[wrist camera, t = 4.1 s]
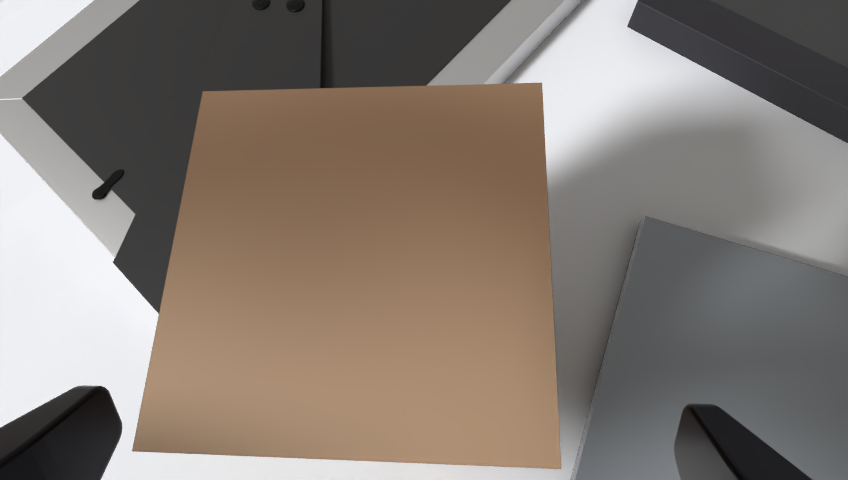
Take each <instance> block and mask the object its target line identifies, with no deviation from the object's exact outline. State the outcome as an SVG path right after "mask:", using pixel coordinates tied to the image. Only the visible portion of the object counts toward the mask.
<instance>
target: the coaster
mask: <svg viewBox="0 0 848 480" xmlns="http://www.w3.org/2000/svg"><path fill="white" fill-rule="evenodd" d="M690 403H694V404H714V405H717V406H719V407H720V408H722V409H723V410H724V411H726V412H727V413H728V414H729V415H731V416H732V417H733V418H735V419H736V420H737V421H738V422H740V423H741V424H742V425H743V426H745V427H746V428H747V429H749V430H750V431H751V432H752V433H754V434H755V435H756V436H758V437H759V438H760V439H761V440H763V441H764V442H765V443H766V444H768V445H769V446H770V447H772V448H773V449H774V450H775V451H777V452H778V453H779V454H781V455H782V456H783V457H784V458H786V459H787V460H788V461H789V462H791V463H792V464H793V465H795V466H796V467H797V468H798V469H800V470H801V471H802V472H804V473H805V474H806V475H807V476H809V477H810V478H811V479H813V480H848V276H844V275H841V274H838V273H834V272H831V271H827V270H824V269H821V268H817V267H814V266H811V265H807V264H804V263H801V262H797V261H794V260H791V259H787V258H784V257H780V256H777V255H774V254H770V253H767V252H764V251H760V250H757V249H754V248H750V247H747V246H744V245H740V244H737V243H733V242H730V241H727V240H723V239H720V238H717V237H713V236H710V235H707V234H703V233H700V232H697V231H693V230H690V229H686V228H683V227H680V226H676V225H673V224H670V223H666V222H663V221H660V220H656V219H653V218H650V217H646V216H645V217H644V219H643V220H642V221H641V222H640V225H639V228H638V232H637V236H636V239H635V243H634V247H633V251H632V254H631V258H630V262H629V265H628V269H627V273H626V276H625V280H624V284H623V288H622V291H621V295H620V299H619V302H618V306H617V310H616V314H615V317H614V321H613V325H612V328H611V332H610V336H609V339H608V343H607V347H606V351H605V354H604V358H603V362H602V365H601V369H600V373H599V377H598V380H597V384H596V388H595V391H594V395H593V399H592V402H591V406H590V410H589V414H588V417H587V421H586V425H585V428H584V432H583V436H582V440H581V443H580V447H579V451H578V454H577V458H576V462H575V465H574V469H573V473H572V477H571V480H680V476H679V472H678V468H677V465H676V461H675V455H674V442H675V438H676V434H677V430H678V426H679V422H680V418H681V414H682V411H683V408H684V407H685V406H686V405H687V404H690Z"/></svg>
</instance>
